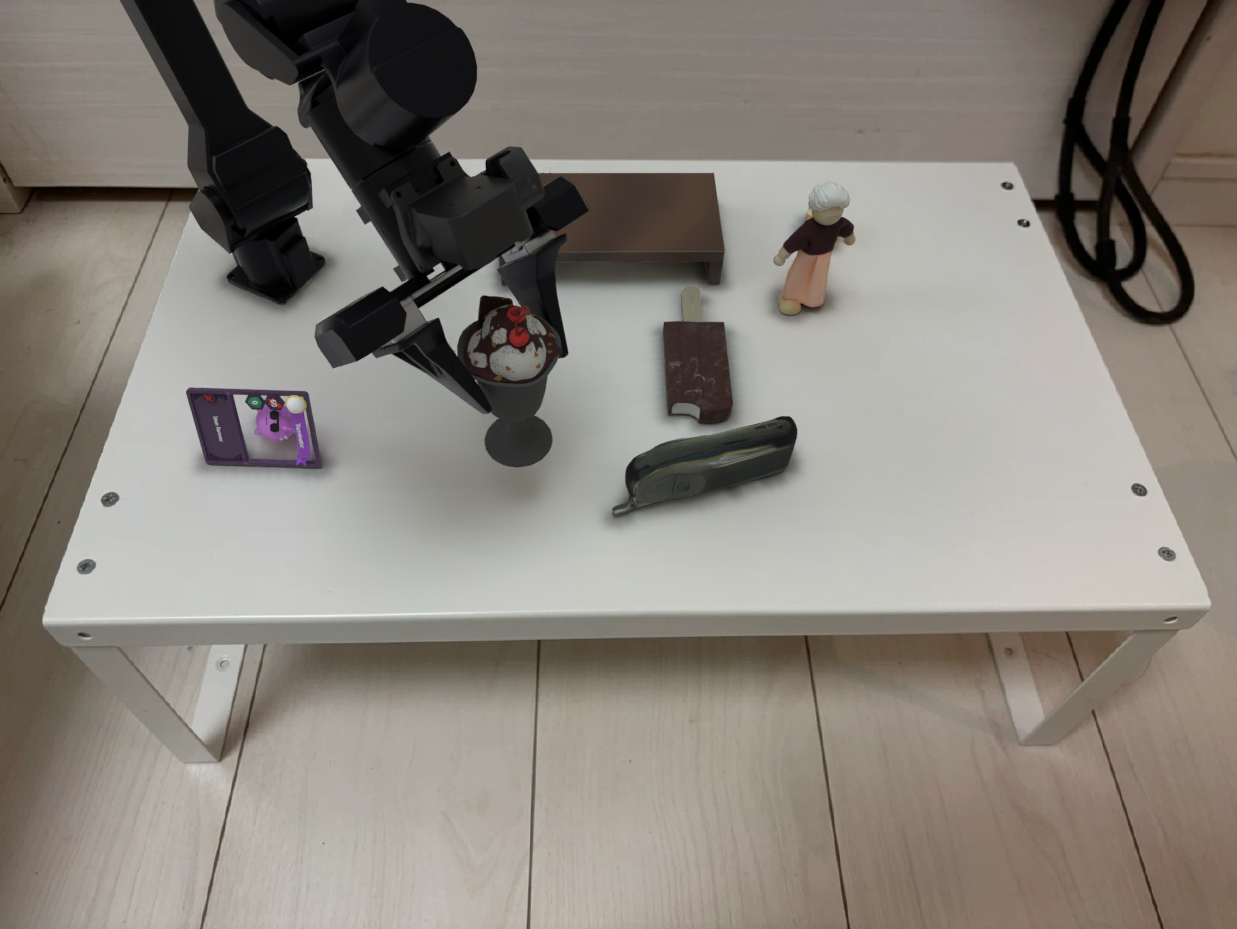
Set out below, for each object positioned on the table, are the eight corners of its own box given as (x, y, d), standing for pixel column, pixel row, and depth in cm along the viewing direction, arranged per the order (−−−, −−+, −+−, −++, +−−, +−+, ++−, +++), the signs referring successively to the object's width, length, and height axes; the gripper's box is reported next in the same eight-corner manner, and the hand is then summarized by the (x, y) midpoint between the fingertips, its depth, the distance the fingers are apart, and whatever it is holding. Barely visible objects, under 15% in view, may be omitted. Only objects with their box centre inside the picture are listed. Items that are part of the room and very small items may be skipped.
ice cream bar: (660, 293, 84) (667, 424, 76) (661, 280, 83) (669, 411, 74) (718, 294, 85) (732, 424, 76) (720, 280, 83) (734, 411, 75)
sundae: (554, 485, 65) (546, 340, 53) (462, 469, 66) (433, 322, 54) (574, 413, 69) (571, 262, 57) (486, 398, 70) (465, 245, 57)
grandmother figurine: (785, 329, 82) (812, 215, 72) (758, 302, 84) (781, 188, 74) (850, 296, 85) (886, 181, 74) (823, 271, 87) (854, 156, 76)
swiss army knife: (789, 405, 71) (605, 454, 68) (807, 434, 69) (620, 487, 66) (777, 444, 75) (603, 493, 72) (794, 473, 74) (617, 524, 70)
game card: (181, 394, 68) (303, 398, 68) (207, 360, 72) (323, 364, 72) (202, 469, 72) (318, 473, 72) (226, 432, 76) (336, 436, 76)
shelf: (501, 285, 85) (498, 252, 81) (507, 206, 91) (503, 172, 88) (719, 284, 85) (724, 251, 82) (709, 206, 92) (714, 172, 88)
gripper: (291, 207, 45) (465, 468, 50) (567, 57, 53) (693, 295, 58) (248, 250, 55) (397, 466, 59) (488, 117, 62) (602, 317, 67)
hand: (526, 384), depth 61 cm, fingers closed on sundae, 6 cm apart
